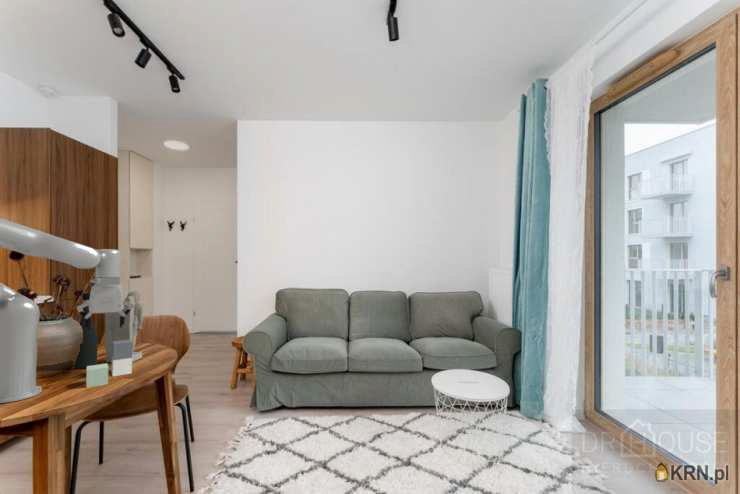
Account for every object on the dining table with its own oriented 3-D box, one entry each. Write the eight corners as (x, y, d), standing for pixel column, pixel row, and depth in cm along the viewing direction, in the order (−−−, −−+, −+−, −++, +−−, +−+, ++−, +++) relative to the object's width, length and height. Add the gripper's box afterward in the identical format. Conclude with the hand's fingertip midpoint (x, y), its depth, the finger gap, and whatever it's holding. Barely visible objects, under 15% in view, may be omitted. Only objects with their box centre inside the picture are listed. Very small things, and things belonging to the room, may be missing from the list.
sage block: (86, 388, 126) (87, 370, 126) (86, 383, 130) (86, 366, 130) (107, 384, 129) (108, 367, 130) (106, 379, 134) (107, 363, 134)
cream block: (112, 376, 138) (113, 360, 138) (111, 372, 142) (112, 356, 142) (131, 373, 141) (132, 357, 142) (129, 369, 146) (130, 354, 146)
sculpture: (148, 358, 162) (150, 290, 163) (134, 363, 154) (136, 292, 155) (117, 357, 163) (119, 289, 164) (101, 362, 155) (104, 291, 156)
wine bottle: (77, 364, 152) (80, 292, 152) (100, 363, 154) (102, 291, 155) (68, 370, 144) (70, 294, 145) (92, 368, 146) (94, 293, 147)
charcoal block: (113, 360, 138) (113, 344, 138) (112, 356, 142) (112, 341, 143) (132, 357, 142) (132, 342, 142) (130, 354, 146) (130, 339, 146)
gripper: (77, 283, 129) (74, 331, 128) (135, 282, 138) (133, 327, 138) (78, 281, 135) (76, 328, 134) (134, 281, 145) (132, 324, 144)
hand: (105, 328), depth 136 cm, fingers open, 9 cm apart
